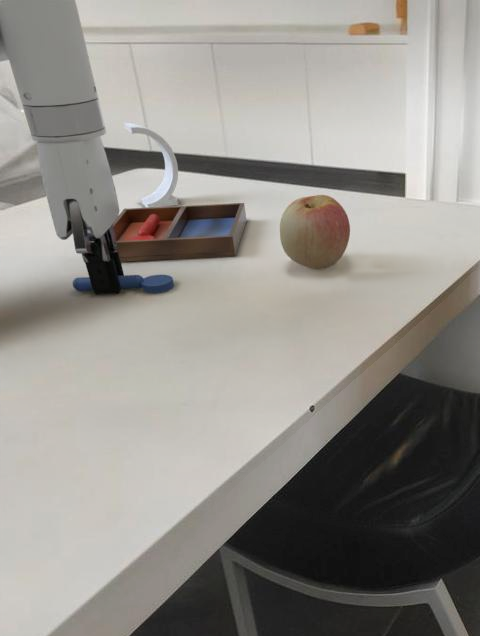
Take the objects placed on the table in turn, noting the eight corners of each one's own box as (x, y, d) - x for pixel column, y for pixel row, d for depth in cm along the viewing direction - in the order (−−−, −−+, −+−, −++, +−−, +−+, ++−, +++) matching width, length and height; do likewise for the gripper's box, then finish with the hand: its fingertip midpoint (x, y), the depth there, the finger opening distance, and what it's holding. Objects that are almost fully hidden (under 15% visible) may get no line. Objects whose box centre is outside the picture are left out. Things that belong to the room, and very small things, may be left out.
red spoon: (169, 223, 102) (166, 212, 101) (152, 249, 92) (150, 237, 91) (143, 224, 102) (141, 213, 101) (124, 251, 92) (121, 239, 91)
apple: (342, 250, 92) (338, 187, 87) (358, 272, 85) (356, 205, 80) (278, 258, 90) (271, 194, 85) (289, 281, 83) (282, 213, 78)
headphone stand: (141, 203, 114) (123, 123, 107) (176, 197, 116) (161, 118, 109) (148, 209, 111) (130, 127, 103) (184, 203, 113) (169, 122, 106)
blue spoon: (79, 285, 85) (75, 272, 84) (176, 280, 85) (174, 268, 84) (70, 297, 82) (66, 284, 81) (171, 292, 82) (168, 279, 81)
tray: (100, 263, 91) (95, 243, 90) (128, 226, 104) (123, 208, 102) (235, 256, 91) (232, 236, 90) (246, 220, 104) (244, 202, 102)
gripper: (53, 109, 78) (96, 268, 89) (1, 137, 66) (59, 317, 77) (119, 106, 78) (154, 265, 89) (80, 133, 66) (126, 314, 77)
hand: (110, 288), depth 83 cm, fingers closed on blue spoon, 1 cm apart
